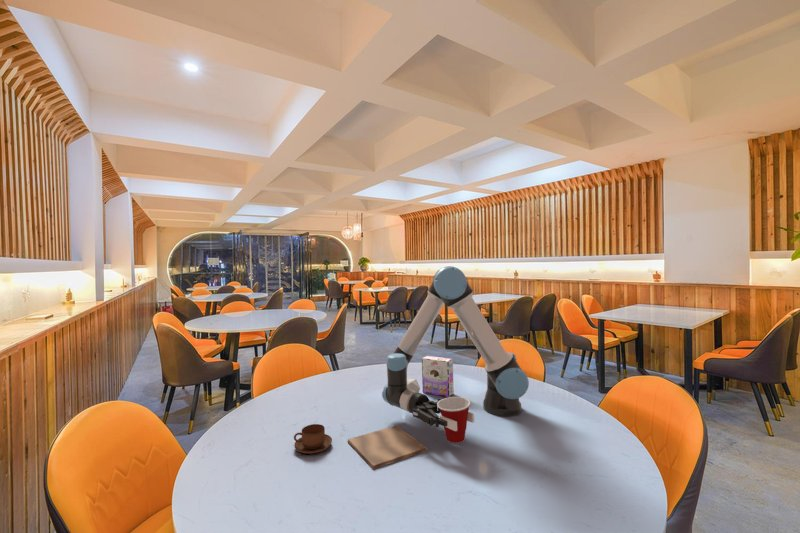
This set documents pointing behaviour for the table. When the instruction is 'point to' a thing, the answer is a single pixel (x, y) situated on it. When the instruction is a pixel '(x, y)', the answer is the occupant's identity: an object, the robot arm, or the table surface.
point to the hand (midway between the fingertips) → (465, 422)
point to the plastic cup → (455, 416)
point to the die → (413, 385)
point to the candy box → (437, 376)
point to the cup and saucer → (312, 439)
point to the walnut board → (386, 446)
